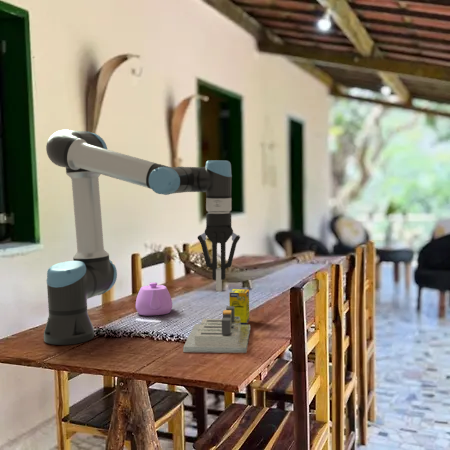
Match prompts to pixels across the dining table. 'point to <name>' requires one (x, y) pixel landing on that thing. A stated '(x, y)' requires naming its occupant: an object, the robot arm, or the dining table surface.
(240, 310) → the supplement box
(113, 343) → the dining table surface
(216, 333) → the panel
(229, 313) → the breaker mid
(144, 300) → the teapot
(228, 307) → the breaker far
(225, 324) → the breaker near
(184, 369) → the dining table surface
